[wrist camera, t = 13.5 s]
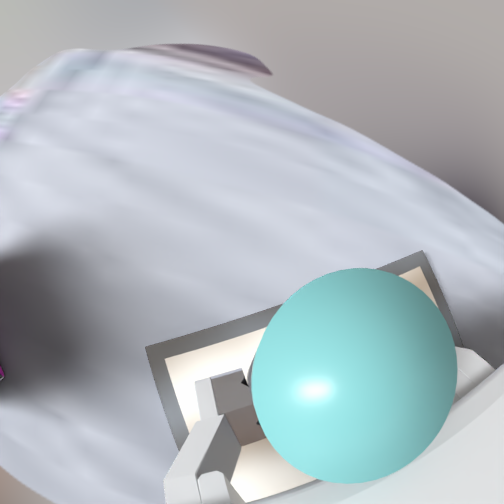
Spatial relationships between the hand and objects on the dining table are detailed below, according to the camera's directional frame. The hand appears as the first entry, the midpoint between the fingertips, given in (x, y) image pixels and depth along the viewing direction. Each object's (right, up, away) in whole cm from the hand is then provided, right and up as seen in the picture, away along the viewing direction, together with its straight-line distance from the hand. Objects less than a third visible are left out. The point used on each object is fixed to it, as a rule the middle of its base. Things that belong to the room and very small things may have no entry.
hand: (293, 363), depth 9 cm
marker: (0, -3, +7) cm, 7 cm away
